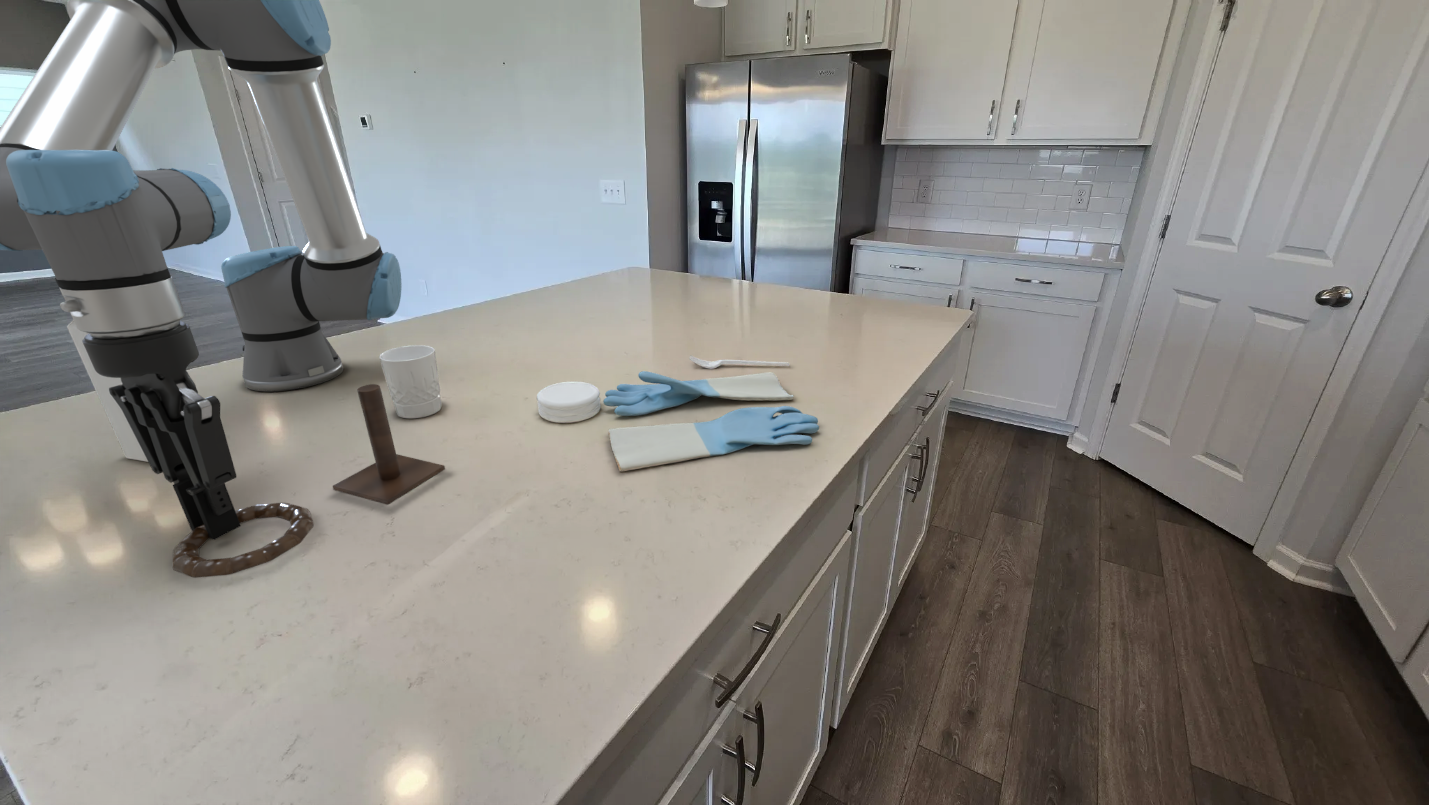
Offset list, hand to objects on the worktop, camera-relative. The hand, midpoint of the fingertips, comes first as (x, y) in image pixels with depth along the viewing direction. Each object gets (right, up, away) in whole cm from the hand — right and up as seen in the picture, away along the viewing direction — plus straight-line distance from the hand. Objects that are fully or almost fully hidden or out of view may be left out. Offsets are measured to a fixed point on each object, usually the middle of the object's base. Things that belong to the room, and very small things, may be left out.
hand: (218, 532), depth 65 cm
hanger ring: (+5, 0, -2) cm, 5 cm away
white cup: (+6, +13, +31) cm, 35 cm away
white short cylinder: (+31, +13, +32) cm, 46 cm away
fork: (+60, +21, +52) cm, 82 cm away
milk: (-23, +7, +18) cm, 30 cm away
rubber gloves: (+54, +12, +30) cm, 63 cm away
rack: (+14, +4, +10) cm, 17 cm away
